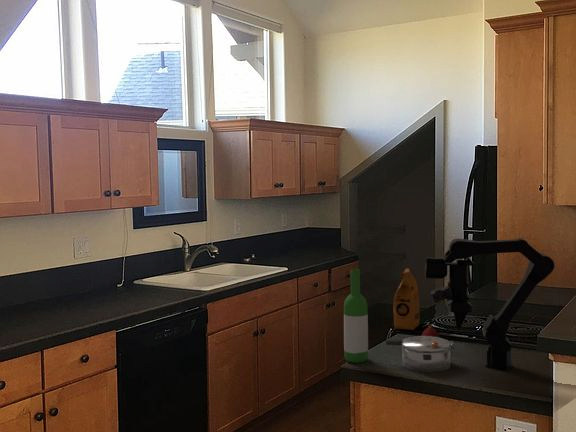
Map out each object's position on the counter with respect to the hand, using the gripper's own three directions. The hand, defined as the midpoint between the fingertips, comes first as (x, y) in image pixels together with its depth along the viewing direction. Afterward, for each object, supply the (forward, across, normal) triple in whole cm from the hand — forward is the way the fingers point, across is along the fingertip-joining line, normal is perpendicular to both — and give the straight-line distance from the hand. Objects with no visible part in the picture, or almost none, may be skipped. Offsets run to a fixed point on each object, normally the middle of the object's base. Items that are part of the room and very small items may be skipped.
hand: (458, 328), depth 205 cm
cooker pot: (+12, 0, -10) cm, 16 cm away
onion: (+12, -18, -8) cm, 23 cm away
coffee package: (+12, -47, -16) cm, 51 cm away
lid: (+6, 0, -12) cm, 13 cm away
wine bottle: (+12, -2, -32) cm, 35 cm away
